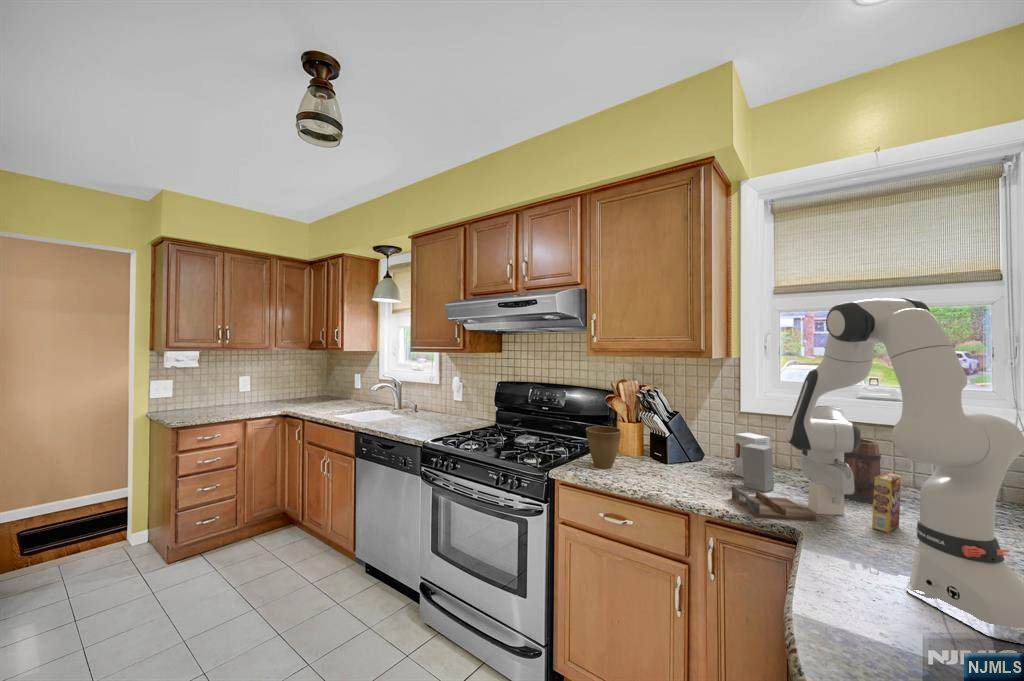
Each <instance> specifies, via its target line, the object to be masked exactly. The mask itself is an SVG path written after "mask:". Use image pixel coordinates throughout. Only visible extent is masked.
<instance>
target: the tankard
mask: <svg viewBox="0 0 1024 681" xmlns="http://www.w3.org/2000/svg"><path fill="white" fill-rule="evenodd" d="M881 458H882V457H881V453H880V449H879V443H878V442H876V441H874V440H867V439H863V438H861V441H860V446H859V447H858V448H857V449H856V450H855V451H853V452H848V453H844V462H845V463H847V464H848V466H849V467H850V468H851V471H852V473H853V477H854V488H855V491H854V493H853V494H844V498H845V499H844V500H846V499H849V500H848V501H850V500H852V501H851V502H854V501H856V502H855V503H859V502H861V504H865V503H867V504H866V505H873V499H874V480H875V476H878V475H881ZM808 480H809V481H810V478H808Z"/></svg>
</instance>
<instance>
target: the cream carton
mask: <svg viewBox="0 0 1024 681" xmlns="http://www.w3.org/2000/svg"><path fill="white" fill-rule="evenodd" d="M834 496H835V493H834V490H833V489H831V488H829V487H827V486H825V485H823V484H821V483H819V482H817V481H810V480H809V481H808V510H810V509H811V511H812V510H813V511H812V512H814V513H815V512H816V514H817V515H835V516H836V515H838V516H839V515H840V516H845V499H844V496H843V498H842V499H841V505H835V504H834V503H832V498H834Z"/></svg>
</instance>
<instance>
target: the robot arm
mask: <svg viewBox="0 0 1024 681" xmlns="http://www.w3.org/2000/svg"><path fill="white" fill-rule="evenodd" d="M825 324H826V325H825V326H826V329H827V331H828V335H827V339H826V342H825V347H824V353H823V358H822V359H821V362H820V363H819V364H818V365H817V367H816V368H814V369H811V370H809V372H808V374H806V377H805V379H804V381H803V383H802V386H801V389H800V392H799V394H798V398H797V401H796V405H795V406H794V410H793V413H792V415H791V417H790V419H789V420H788V423H787V425H786V430H785V433H786V434H785V436H786V439H787V442H788V443H789V444H790V445H791V446H792V447H794V448H795V449H797V450H798V451H800V454H801V465H800V466H801V472H802V475H803V476H805V477H807V478H808V479H809V478H810V480H809V481H817V482H819V483H821V484H823V485H825V486H827V487H829V488H831V489H833V490H834V493H835V496H834V498H832V503H834V504H835V505H841V499H842V498H843V496H844V494H853V493H854V491H855V488H854V477H853V473H852V471H851V468H850V467H849V466H848V464H847V463H845V462H844V453H848V452H853V451H855V450H856V449H857V448H858V447H859V446H860V441H861V439H862V438H861V437H862V436H861V430H860V428H859V427H858V426H857V425H856V424H854V423H853V422H851V421H848V420H847V419H846V418H845V416H844V410H843V409H842V408H841V407H838V406H833V405H817V402H818V400H819V399H820V398H821V397H822V396H823V395H825V394H827V393H829V392H832V391H836V390H840V389H845V388H848V387H852V386H856V385H857V384H859V383H861V382H864V380H865V379H867V378H868V376H869V375H870V373H871V369H872V367H873V366H872V365H873V361H874V353H875V346H876V343H882V344H883V345H884V347H885V349H886V353H887V355H888V358H889V361H890V363H891V367H892V368H893V371H894V374H895V376H896V380H897V382H898V384H899V387H900V392H901V401H902V405H901V408H902V409H901V415H900V418H899V420H898V421H897V423H896V424H895V425H894V427H893V429H892V436H891V437H892V441H893V445H894V447H895V448H896V450H897V451H898V453H900V454H901V455H902V456H903V457H904V458H906V459H908V460H910V461H911V462H915V463H919V464H925V465H929V466H934V467H935V469H934V471H933V473H932V474H931V476H929V478H928V479H927V480H925V482H923V484H922V485H921V488H920V493H919V496H920V497H919V498H920V499H919V504H920V505H919V506H920V507H919V508H920V509H919V520H917V525H916V538H917V539H918V545H917V547H916V550H915V553H914V557H913V563H912V568H911V569H912V570H911V576H910V577H909V580H910V584H909V583H908V584H907V585H906V588H908V589H909V590H911V591H913V592H915V593H917V592H916V591H914V590H919V591H922V592H924V593H925V594H920V593H917V594H919V595H921V596H924V597H926V598H931V599H932V598H933V599H935V598H936V599H937V598H938V599H940V600H942V601H944V602H946V603H948V604H950V605H952V606H954V607H956V608H958V609H960V610H963V611H965V612H967V613H969V614H971V615H973V616H974V617H976V618H977V619H979V620H981V621H984V622H987V623H989V624H994V625H1000V626H1007V627H1013V628H1024V581H1022V579H1020V577H1019V576H1018V575H1017V574H1016V573H1015V572H1014V571H1013V570H1012V569H1011V568H1010V567H1009V566H1008V564H1006V563H1005V557H1006V556H1007V557H1008V556H1009V557H1010V554H1009V552H1010V551H1011V550H1009V549H1003V548H1001V546H1000V544H999V541H998V539H997V538H996V536H995V533H996V532H995V528H996V527H995V525H996V505H997V498H998V496H999V491H1000V489H1001V486H1002V484H1003V481H1004V478H1005V476H1006V474H1007V472H1008V470H1009V468H1010V466H1011V464H1012V463H1013V461H1014V460H1016V459H1017V458H1018V457H1019V456H1020V455H1021V454H1023V451H1024V433H1022V431H1021V430H1020V428H1019V427H1018V426H1017V425H1015V424H1014V423H1013V422H1011V421H1009V420H1008V419H1006V418H1002V417H999V416H994V415H992V414H991V415H990V414H987V413H981V412H964V410H963V405H962V404H963V402H962V393H963V390H964V389H965V388H966V387H967V385H968V382H969V381H968V380H969V379H968V377H967V375H966V372H965V370H964V368H963V365H962V363H961V361H960V359H959V357H958V354H957V351H956V350H955V348H954V346H953V344H952V342H951V340H950V338H949V336H948V334H947V333H946V331H945V329H944V328H943V327H942V325H941V324H940V323H939V321H938V320H937V318H936V317H935V316H934V315H933V314H932V313H931V310H930V307H929V306H927V304H926V303H925V302H923V301H921V300H919V299H914V298H909V297H908V298H906V297H901V298H872V299H870V298H869V299H862V300H857V301H846V302H842V303H838V304H836V305H834V306H832V307H831V308H830V309H829V312H828V313H827V315H826V319H825ZM816 405H817V406H816Z"/></svg>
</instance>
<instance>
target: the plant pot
mask: <svg viewBox="0 0 1024 681" xmlns="http://www.w3.org/2000/svg"><path fill="white" fill-rule="evenodd" d="M585 432H586V439H587V443H588V448H589V453H590V457H591V459H592V462H593V465H594V467H596V468H598V469H602V470H603V469H604V470H605V469H606V470H607V469H608V470H609V469H611V468H613V465H614V463H615V460H616V457H617V455H618V451H619V446H620V443H621V435H622V429H620V428H618V427H614V426H605V425H603V426H602V425H601V426H600V425H599V426H598V425H597V426H595V425H594V426H588V427H586V428H585Z"/></svg>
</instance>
